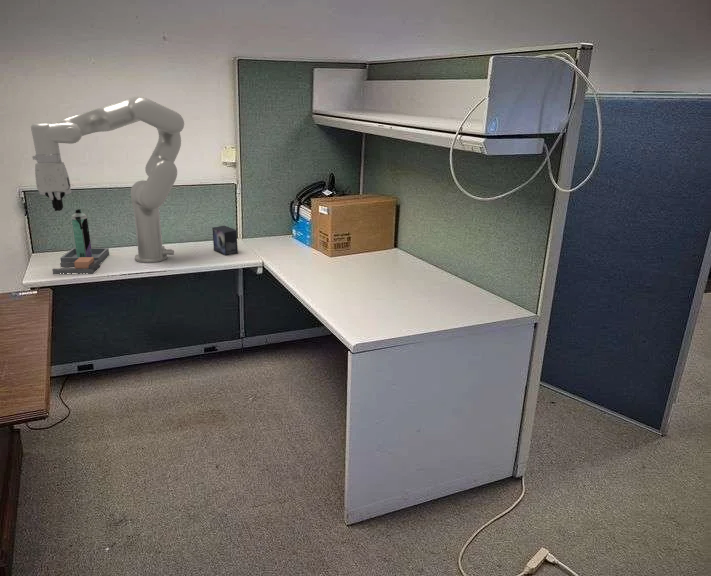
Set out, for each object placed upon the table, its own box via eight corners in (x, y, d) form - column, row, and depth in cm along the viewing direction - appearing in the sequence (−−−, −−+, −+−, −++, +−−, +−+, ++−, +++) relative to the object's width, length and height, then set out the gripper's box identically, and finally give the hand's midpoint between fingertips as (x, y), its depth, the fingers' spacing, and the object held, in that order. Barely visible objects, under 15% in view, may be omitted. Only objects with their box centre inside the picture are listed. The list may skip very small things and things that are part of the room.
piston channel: (100, 266, 214) (99, 259, 213) (93, 274, 206) (92, 266, 205) (61, 267, 212) (60, 259, 211) (53, 274, 204) (51, 266, 203)
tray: (109, 254, 229) (108, 248, 228) (99, 264, 216) (98, 257, 215) (73, 255, 227) (72, 248, 226) (61, 265, 214) (60, 257, 213)
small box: (212, 250, 240) (211, 227, 237) (225, 248, 244) (224, 225, 241) (225, 256, 233) (223, 231, 229) (238, 253, 237) (237, 229, 234)
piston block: (94, 267, 212) (93, 257, 211) (89, 272, 207) (88, 261, 205) (81, 267, 212) (79, 257, 210) (75, 272, 206) (74, 262, 205)
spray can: (94, 258, 221) (87, 209, 215) (79, 261, 218) (72, 211, 211) (90, 255, 225) (83, 207, 219) (75, 258, 222) (68, 208, 215)
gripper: (22, 160, 190) (32, 213, 197) (67, 160, 192) (77, 212, 199) (30, 157, 197) (41, 208, 204) (75, 157, 199) (83, 207, 206)
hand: (58, 210), depth 201 cm, fingers closed
